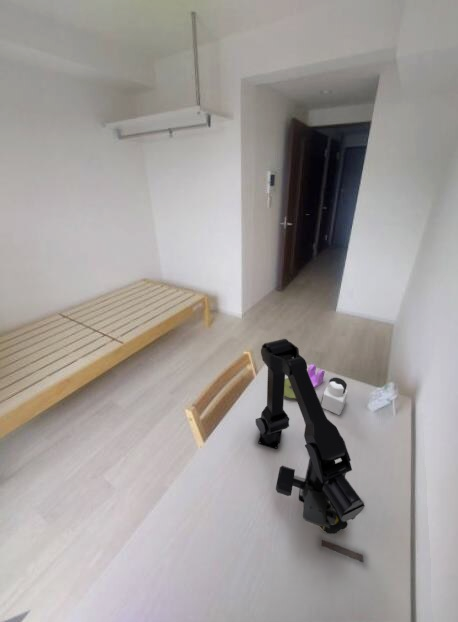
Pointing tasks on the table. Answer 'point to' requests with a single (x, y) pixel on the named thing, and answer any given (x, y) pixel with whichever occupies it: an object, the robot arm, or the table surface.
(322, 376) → the bracket
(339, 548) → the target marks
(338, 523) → the tape measure
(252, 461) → the table surface
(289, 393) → the olive green disc
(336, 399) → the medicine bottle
